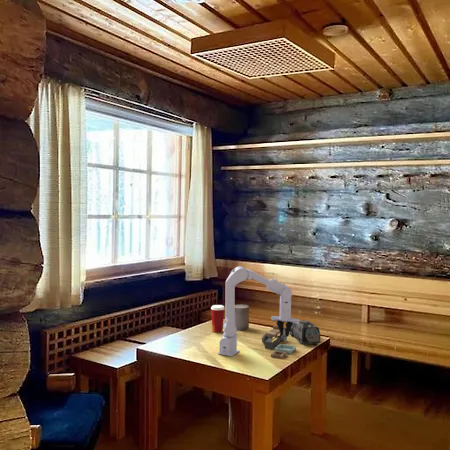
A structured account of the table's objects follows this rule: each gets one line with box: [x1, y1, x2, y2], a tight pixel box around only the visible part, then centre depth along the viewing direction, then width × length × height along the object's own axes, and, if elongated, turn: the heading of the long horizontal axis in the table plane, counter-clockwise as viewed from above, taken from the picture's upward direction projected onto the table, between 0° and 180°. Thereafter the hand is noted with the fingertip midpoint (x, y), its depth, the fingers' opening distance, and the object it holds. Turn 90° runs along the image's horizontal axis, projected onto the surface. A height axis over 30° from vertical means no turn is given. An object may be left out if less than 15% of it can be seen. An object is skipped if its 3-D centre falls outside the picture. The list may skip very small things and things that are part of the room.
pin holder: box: [270, 350, 287, 360], centre depth 247 cm, size 6×6×2 cm
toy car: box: [289, 319, 321, 345], centre depth 277 cm, size 11×25×10 cm, turn 11°
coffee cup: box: [210, 304, 225, 334], centre depth 291 cm, size 8×8×15 cm
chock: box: [264, 337, 278, 351], centre depth 262 cm, size 7×4×5 cm, turn 155°
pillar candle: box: [235, 303, 250, 331], centre depth 299 cm, size 10×10×15 cm
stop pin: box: [282, 327, 288, 341], centre depth 254 cm, size 2×2×6 cm
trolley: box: [261, 325, 285, 346], centre depth 272 cm, size 12×9×7 cm
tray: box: [274, 343, 297, 356], centre depth 256 cm, size 9×9×2 cm
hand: (284, 335), depth 254 cm, fingers closed on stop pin, 2 cm apart
